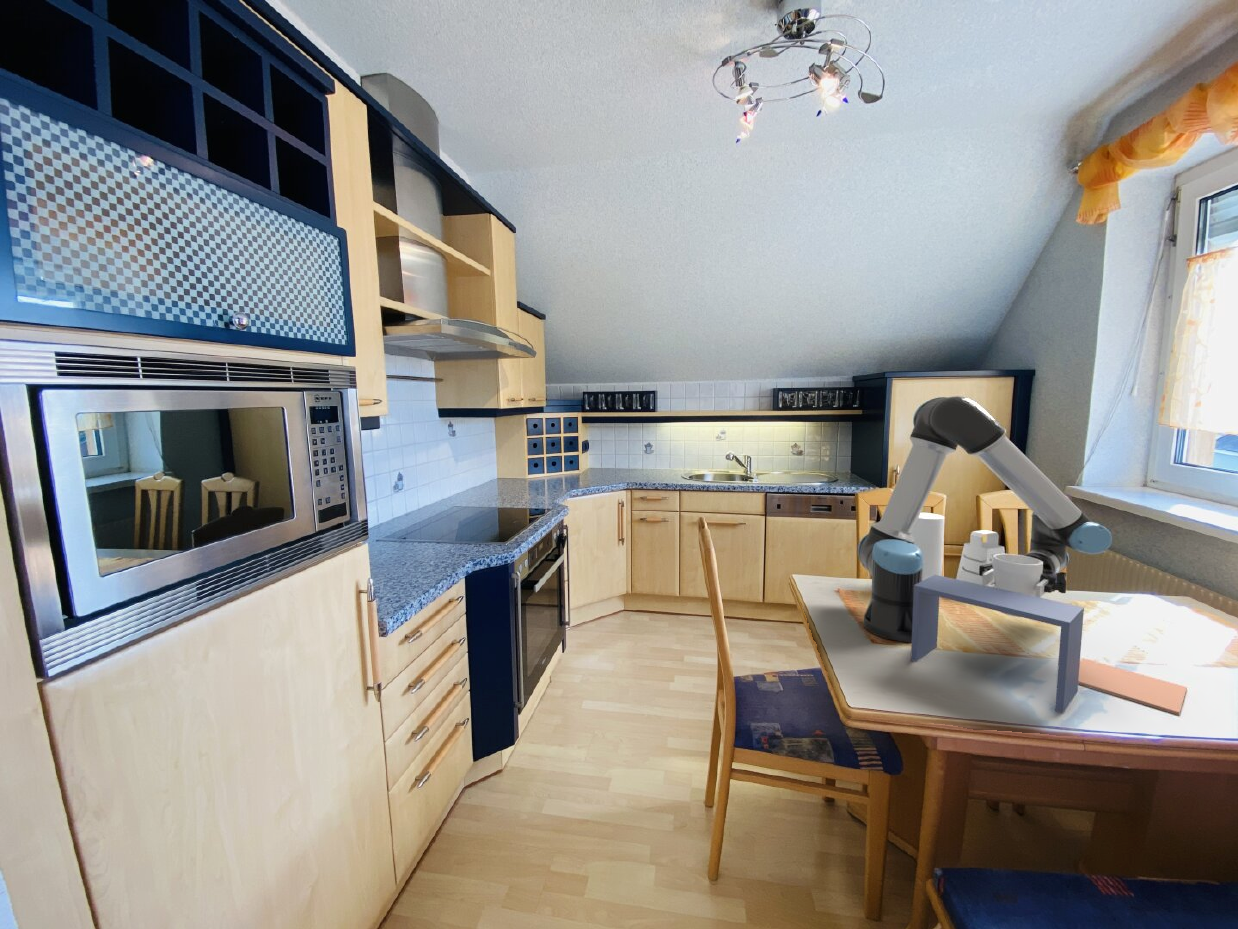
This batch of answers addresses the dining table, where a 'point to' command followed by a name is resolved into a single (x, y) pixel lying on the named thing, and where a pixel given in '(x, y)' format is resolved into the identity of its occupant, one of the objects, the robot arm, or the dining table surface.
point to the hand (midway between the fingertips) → (1010, 585)
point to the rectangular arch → (1003, 602)
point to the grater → (978, 556)
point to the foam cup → (1017, 573)
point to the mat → (1132, 686)
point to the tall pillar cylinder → (930, 542)
